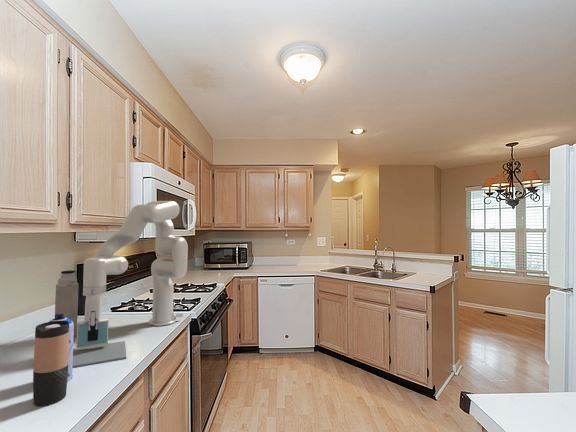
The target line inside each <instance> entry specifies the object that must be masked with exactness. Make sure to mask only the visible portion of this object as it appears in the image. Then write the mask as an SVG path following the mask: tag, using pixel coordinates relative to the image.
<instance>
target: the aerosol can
mask: <svg viewBox="0 0 576 432" xmlns="http://www.w3.org/2000/svg"><path fill="white" fill-rule="evenodd" d="M52 321H68V322H69V358H68V376H67V383H68V382H71V381H72V380H73V377H74V375H73V368H72V365H73V349H74V337H73V336H74V324H73V321H71V320H70V319H69V318H66V317H64V314H55V313H54V318H52V319H50V320H49V321H48V322H52Z"/></svg>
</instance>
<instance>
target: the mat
mask: <svg viewBox="0 0 576 432" xmlns="http://www.w3.org/2000/svg"><path fill="white" fill-rule="evenodd" d="M126 359H127V349H126V341H125V340H123V341H121V340H120V341H116V342H115V341H114V342H110V343H108V344H105V345H99V346H92V347H85V348H78V349H76V347H75V348H74V347H73V365H72V369H74V368H80V367H86V366H91V365H96V364H97V365H98V364H102V363H109V362H114V361H120V360H126Z"/></svg>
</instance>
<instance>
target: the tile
mask: <svg viewBox="0 0 576 432" xmlns="http://www.w3.org/2000/svg"><path fill="white" fill-rule="evenodd" d="M95 321H96V320H95ZM90 322H91V320H90ZM95 324H96V323H95ZM97 329H98V340H96V341H89V342H88V330H89V321H88V322H86V323H84V320H82V321H77V336H76V347H75V348H76V349H78V348H85V347H92V346H99V345H105V344H108V342H109V318H100V320H99V321H98V323H97Z"/></svg>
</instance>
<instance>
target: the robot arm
mask: <svg viewBox="0 0 576 432" xmlns="http://www.w3.org/2000/svg"><path fill="white" fill-rule="evenodd" d="M128 213H129V214H127V216H126V218H125V220H124V221H123V223H122V225H121V227H120V229H119V230H118V231H117V232H115V233H114V234H113V235H111V236H110V237H109V238H108V239H106V240H105V241H104V242H103V243H102V244H101V245H100V246H99V248H98V249H97V250H96V252H95V254H94V256H93V257H87V258H86V259H84V261H83V275H82V276H83V277H82V280H83V283H82V286H83V287H82V296H84V297H85V301H84V302H85V303H84V320H83V321H84V323H86V322H88V321H89V330H88V342H89V341H96V340H98V329H97V323H98V321H99V320H100V319H101V314H102V309H103V308H102V305H103V295H105V294H107V276H109V275H110V276H112V275H113V276H114V275H116V276H117V275H122V274H124V273H125V272H126V271H127V270H128V268H129V261H128V260H127V259H126V258H125V257H123V256H120V255H115V254H116V253H117V252H118V251H119V250H121V249H123V248H125V247H126V246H130V245H131V244H134V243H135V242H137V241H138V240H140V237H141V236H142V234H143V232H144V230H145V229H146V226H147V225H148V224H154V226H155V247H154V249H155V252H156V253H157V254H158V255H160V256H171V257H172V258H171V257H160V258H156V259H155V260H153V262H152V263H151V267H150V271H151V276H152V277H151V278H152V310H151V311H152V313H151V315H152V318H151V319H149V320H148V325H150V326H154V327H162V326H169V325H172V324H174V323H176V322H177V318H183V316H184V313H183V312H175V311H174V289H175V288H174V282H173V280H172V279H181V278H184V276H185V275H186V274H187V271H188V253H189V246H188V242H187V240H186V238H184V237H182V236H178V235H177V236H175V227H174V226H175V225H174V223H173V221H172V220H173V219H175V218H177V217H178V216H179V214H180V205H179V204H178V202H176V201H174V200H154V201H149V202H147V203H146V204H144V203H143V204H136V205H135V206H133V207H132V208H131V210H130V211H129V212H128ZM90 320H91V322H90ZM95 320H96V321H95ZM95 323H96V324H95Z"/></svg>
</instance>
